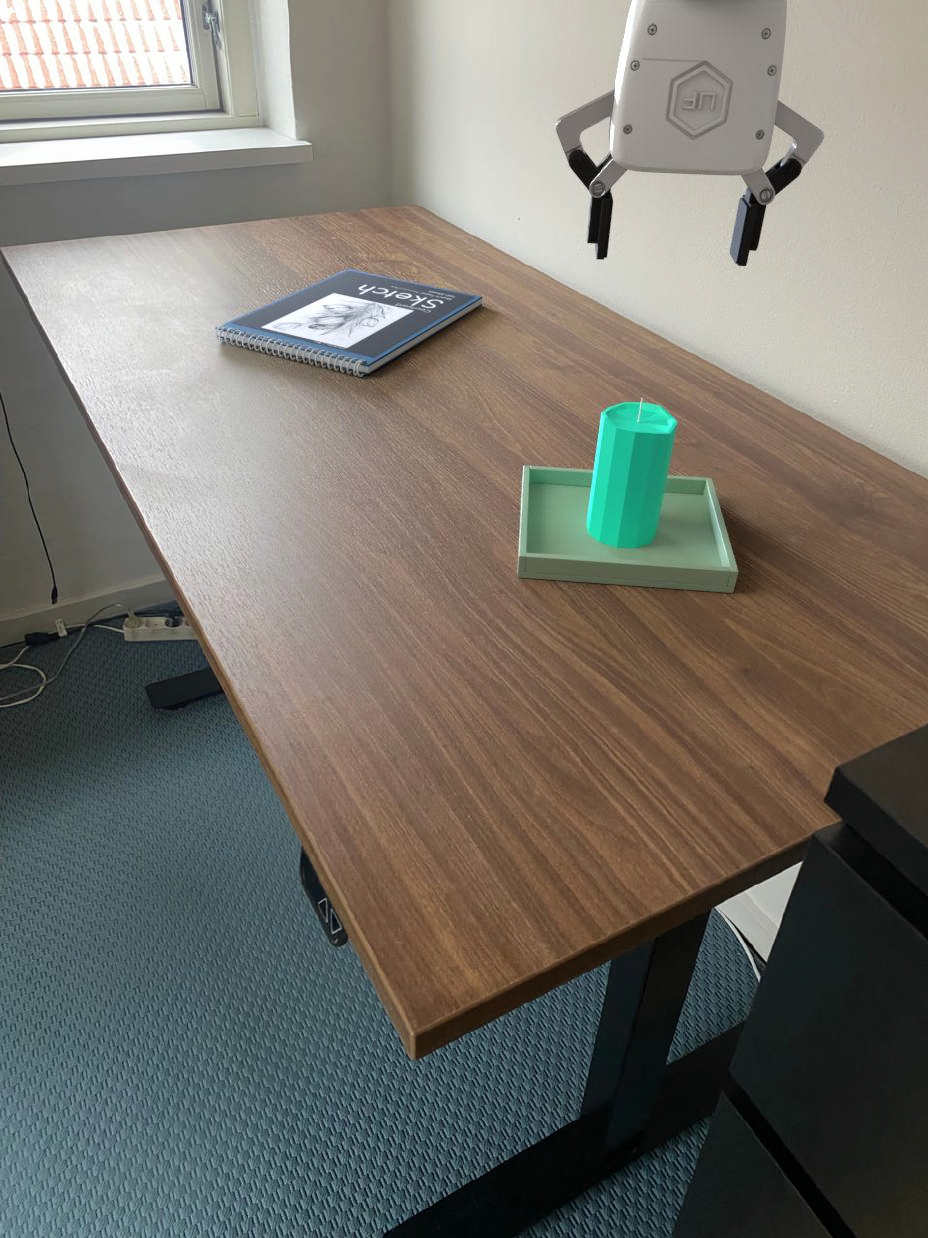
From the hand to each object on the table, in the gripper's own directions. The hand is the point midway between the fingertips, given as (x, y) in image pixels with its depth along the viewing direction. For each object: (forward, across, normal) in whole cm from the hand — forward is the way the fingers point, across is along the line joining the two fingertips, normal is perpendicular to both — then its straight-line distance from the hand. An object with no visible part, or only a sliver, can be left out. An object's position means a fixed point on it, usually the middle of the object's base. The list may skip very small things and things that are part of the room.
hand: (668, 257), depth 65 cm
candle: (+23, 0, 0) cm, 23 cm away
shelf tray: (+23, -1, +1) cm, 23 cm away
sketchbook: (+22, -32, +48) cm, 61 cm away
